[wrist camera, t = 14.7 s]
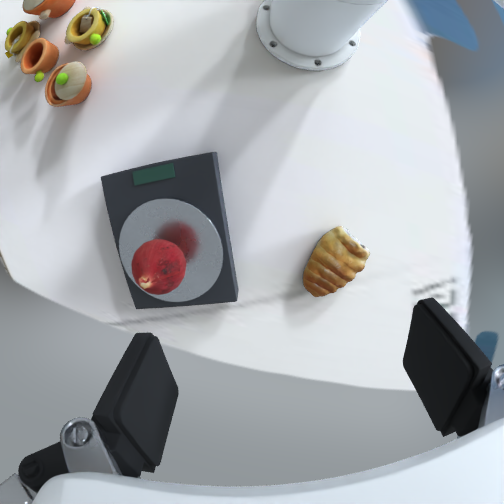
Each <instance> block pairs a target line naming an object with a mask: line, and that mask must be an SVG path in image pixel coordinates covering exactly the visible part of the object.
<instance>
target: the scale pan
mask: <svg viewBox="0 0 504 504" xmlns="http://www.w3.org/2000/svg"><path fill="white" fill-rule="evenodd" d="M154 239H164V240H168V241H170V242H172V243H174V244H176V245H177V246H178V247H179V249H180V250H181V251H182V252H183V254H184V257H185V260H186V271H185V276H184V278H183V280H182V282H181V283H180V285H179V286H178V287H177V288H176V289H174V290H172V291H171V292H169V293H167V294H162V295H155V294H150V293H148V292H146V291H144V290H143V289H142V288H141V287H140V286H139V285H138V284H137V283H136V282H135V279H134V277H133V275H132V266H131V262H132V259H133V256H134V253H135V251H136V250H137V249H138V248H139V247H140V246H141V245H142V244H143V243H145V242H148V241H151V240H154ZM119 251H120V257H121V261H122V264H123V266H124V268H125V270H126V272H127V274H128V275H129V277H130V278H131V280H132V281H133V282H134V283H135V284H136V285H137V286H138V287H139V288H140V289H141V290H143V291H144V292H146V293H147V294H149V295H151V296H153V297H155V298H158V299H160V300H164V301H170V302H183V301H188V300H192V299H195V298H197V297H199V296H201V295H202V294H204V293H205V292H207V291H208V290H209V289H210V288H211V287H212V286H213V285H214V283H215V282H216V280H217V278H218V276H219V274H220V272H221V268H222V264H223V255H224V252H223V244H222V240H221V237H220V234H219V232H218V230H217V228H216V226H215V225H214V223H213V222H212V220H211V219H210V218H209V217H208V216H207V215H206V214H205V213H204V212H203V211H202V210H201V209H199V208H198V207H196V206H195V205H193V204H191V203H189V202H187V201H183V200H180V199H175V198H158V199H154V200H150V201H148V202H146V203H144V204H142V205H141V206H139V207H137V208H136V209H135V210H134V211H133V212H132V213H131V214H130V215H129V216H128V218H127V219H126V221H125V223H124V225H123V227H122V230H121V233H120V239H119Z"/></svg>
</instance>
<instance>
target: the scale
mask: <svg viewBox="0 0 504 504" xmlns="http://www.w3.org/2000/svg"><path fill="white" fill-rule="evenodd" d="M101 181H102V186H103V191H104V196H105V201H106V205H107V210H108V214H109V218H110V222H111V227H112V231H113V235H114V238H115V242H116V246H117V250H118V253H119V257H120V251H119V239H120V233H121V230H122V227H123V225H124V223H125V221H126V219H127V218H128V216H129V215H130V214H131V213H132V212H133V211H134V210H135V209H136V208H137V207H139V206H141V205H142V204H144V203H146V202H148V201H150V200H154V199H158V198H175V199H180V200H183V201H187V202H189V203H191V204H193V205H195V206H196V207H198V208H199V209H201V210H202V211H203V212H204V213H205V214H206V215H207V216H208V217H209V218H210V219H211V220H212V222H213V223H214V225H215V226H216V228H217V230H218V232H219V234H220V237H221V240H222V244H223V252H224V255H223V264H222V268H221V272H220V274H219V276H218V278H217V280H216V282H215V283H214V285H213V286H212V287H211V288H210V289H209V290H208V291H207V292H205V293H204V294H202V295H201V296H199V297H197V298H195V299H192V300H188V301H183V302H170V301H164V300H160V299H158V298H155V297H153V296H151V295H149V294H147V293H146V292H144V291H143V290H141V289H140V288H139V287H138V286H137V285H136V284H135V283H134V282H133V281H132V280H131V278H130V277H129V275H128V274H127V272H126V270H125V268H124V266H123V264H122V261H121V264H122V267H123V270H124V274H125V277H126V280H127V283H128V286H129V290H130V293H131V296H132V299H133V302H134V304H135V307H136V309H146V308H162V307H177V306H190V305H202V304H214V303H225V302H235V301H237V297H238V285H237V279H236V273H235V267H234V261H233V255H232V249H231V243H230V237H229V231H228V224H227V218H226V212H225V206H224V199H223V193H222V186H221V180H220V173H219V167H218V160H217V153H216V152H211V153H205V154H199V155H194V156H188V157H183V158H178V159H173V160H168V161H163V162H159V163H154V164H150V165H145V166H141V167H137V168H133V169H129V170H125V171H121V172H117V173H113V174H109V175H106V176H102V177H101ZM120 260H121V257H120Z"/></svg>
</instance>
